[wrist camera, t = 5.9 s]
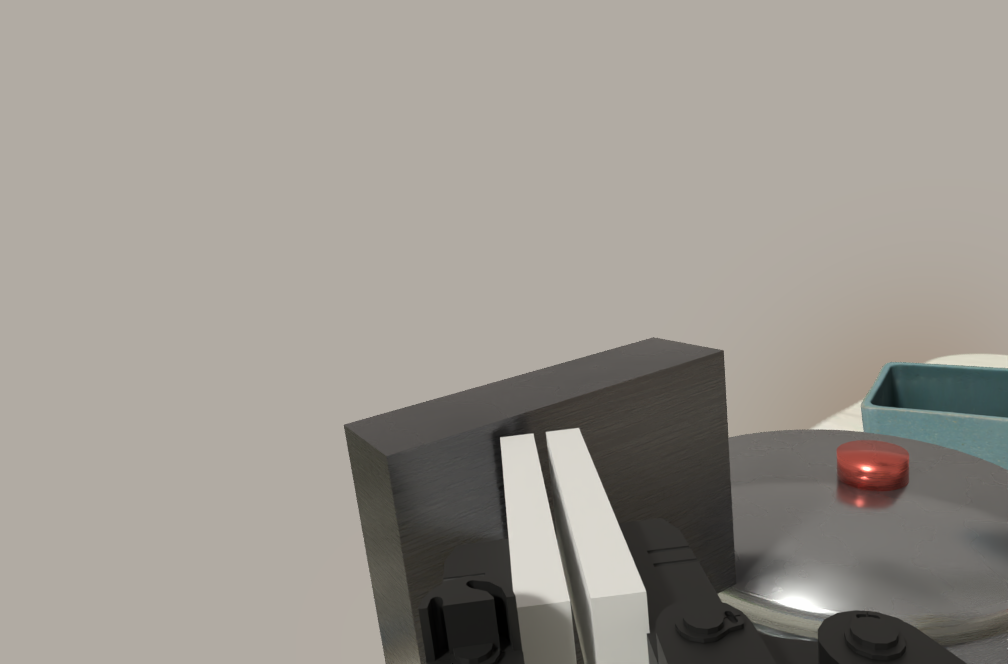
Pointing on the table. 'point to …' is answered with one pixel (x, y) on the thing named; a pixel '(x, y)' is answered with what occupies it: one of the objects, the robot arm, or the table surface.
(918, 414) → the flower pot
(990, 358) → the table surface
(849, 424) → the table surface
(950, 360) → the table surface
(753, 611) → the lid
